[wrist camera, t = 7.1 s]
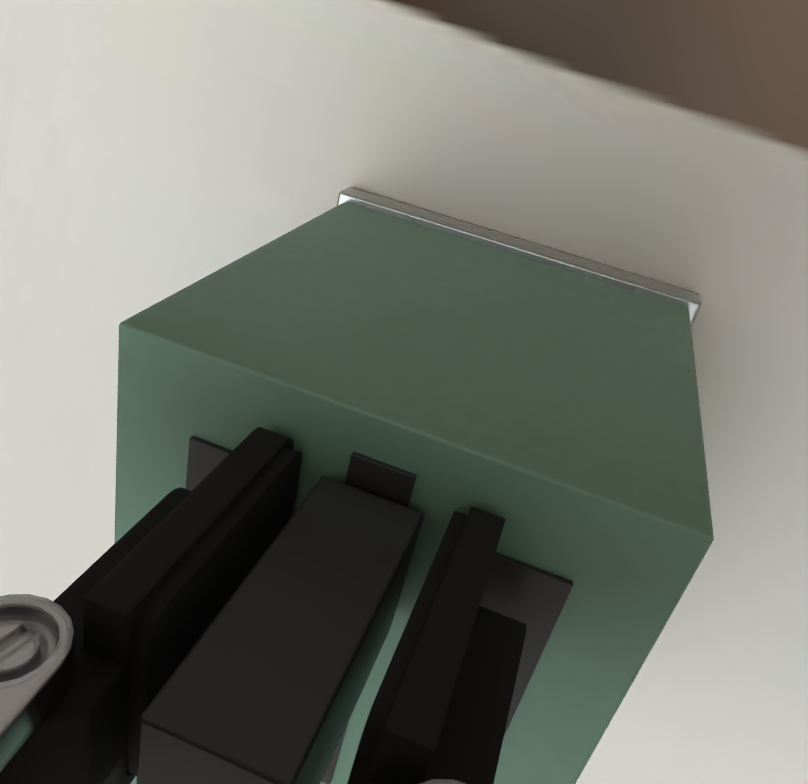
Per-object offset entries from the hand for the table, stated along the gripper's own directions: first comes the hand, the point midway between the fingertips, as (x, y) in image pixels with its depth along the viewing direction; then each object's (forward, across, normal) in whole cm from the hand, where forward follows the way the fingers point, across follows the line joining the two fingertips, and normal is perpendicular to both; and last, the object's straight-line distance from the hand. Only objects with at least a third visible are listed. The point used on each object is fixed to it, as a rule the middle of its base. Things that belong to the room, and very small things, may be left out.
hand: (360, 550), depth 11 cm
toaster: (+10, 0, +4) cm, 11 cm away
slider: (0, 0, 0) cm, 0 cm away
